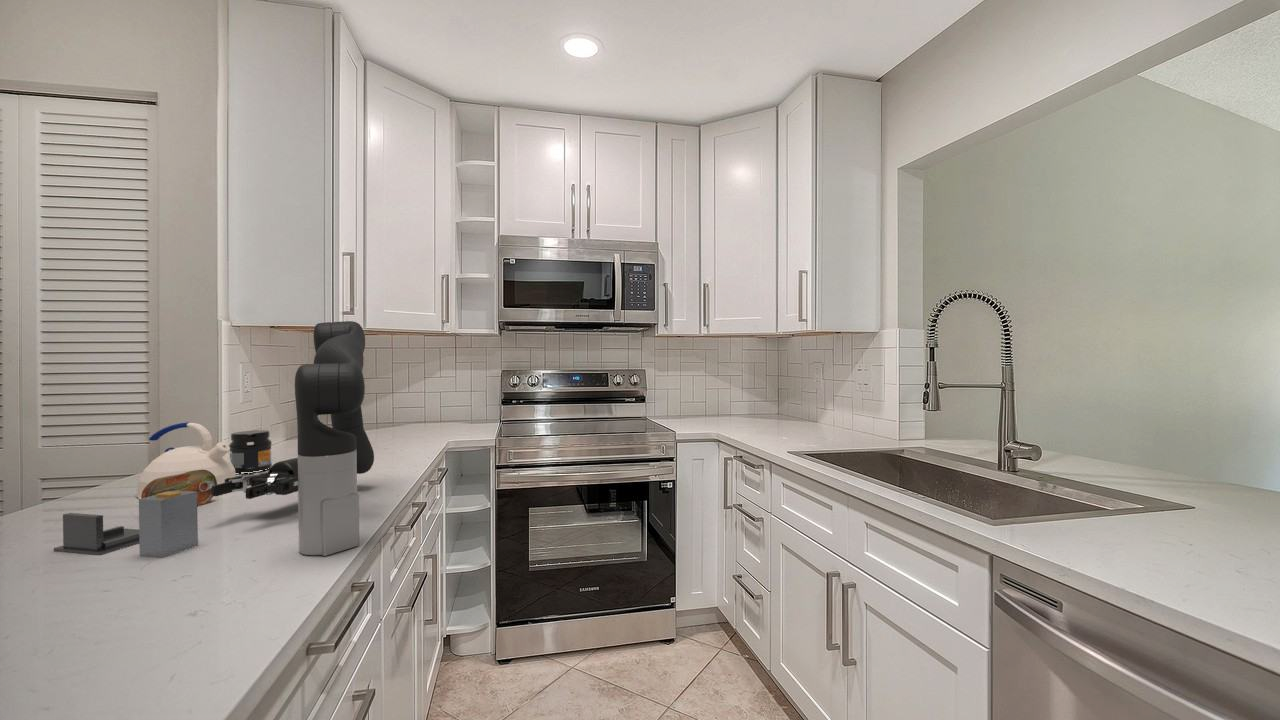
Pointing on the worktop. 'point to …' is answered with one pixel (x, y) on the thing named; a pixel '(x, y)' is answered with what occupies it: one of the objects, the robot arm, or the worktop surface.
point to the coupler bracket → (93, 535)
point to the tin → (184, 484)
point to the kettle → (188, 458)
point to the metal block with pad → (168, 523)
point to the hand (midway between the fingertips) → (229, 492)
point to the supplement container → (250, 451)
